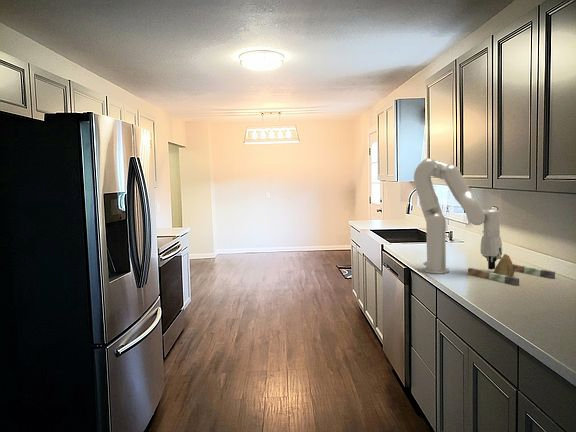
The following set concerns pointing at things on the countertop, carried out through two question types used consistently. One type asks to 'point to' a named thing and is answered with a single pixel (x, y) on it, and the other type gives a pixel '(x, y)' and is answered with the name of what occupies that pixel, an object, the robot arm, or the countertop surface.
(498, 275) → the channel
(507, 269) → the rock
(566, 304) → the countertop surface
